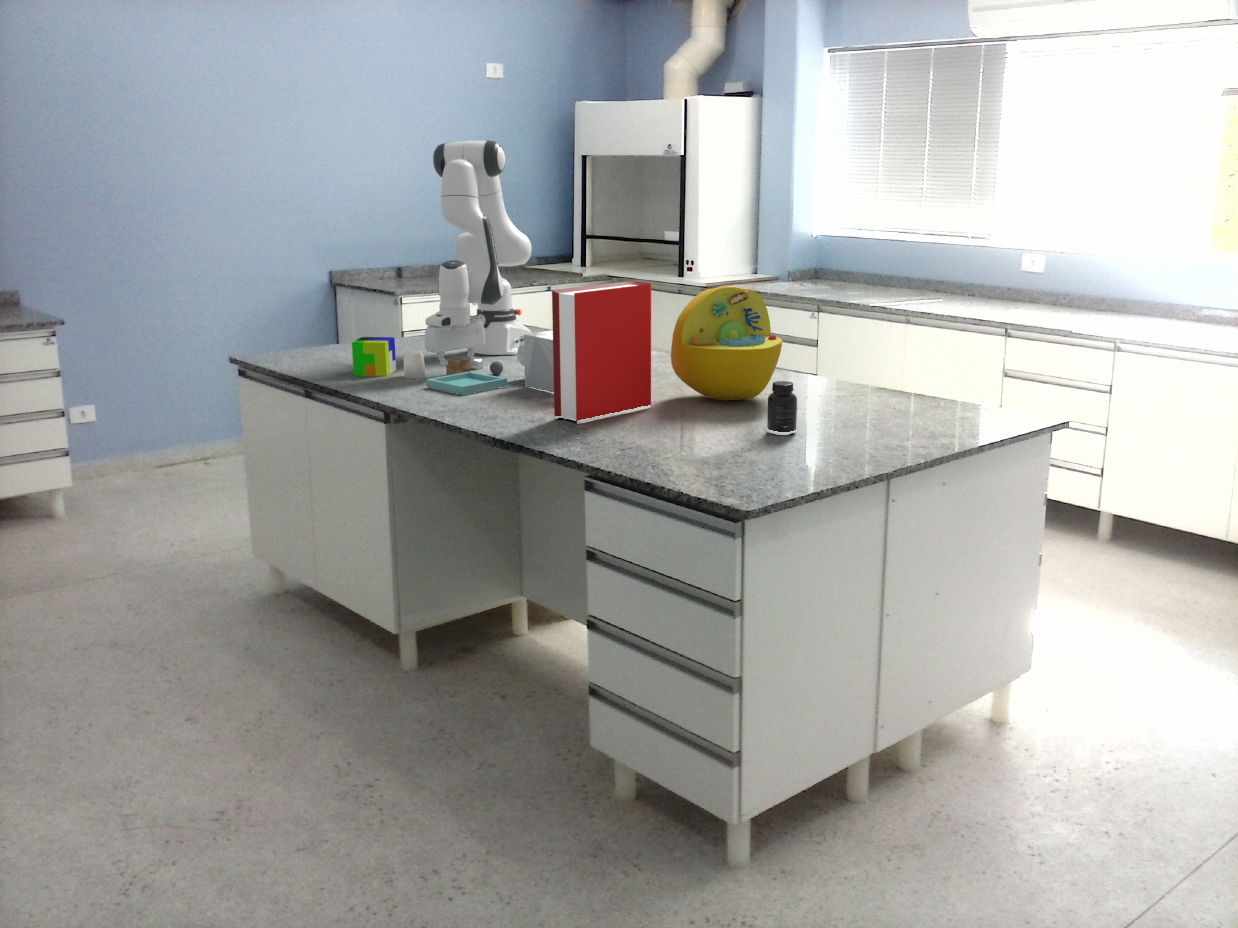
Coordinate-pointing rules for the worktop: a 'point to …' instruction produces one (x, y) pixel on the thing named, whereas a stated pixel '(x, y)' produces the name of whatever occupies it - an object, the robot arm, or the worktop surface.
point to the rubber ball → (496, 368)
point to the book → (601, 349)
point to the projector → (538, 360)
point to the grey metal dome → (476, 363)
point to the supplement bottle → (782, 407)
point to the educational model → (725, 344)
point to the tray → (466, 382)
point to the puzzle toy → (374, 356)
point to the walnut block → (457, 365)
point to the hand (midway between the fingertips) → (456, 364)
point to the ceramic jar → (414, 364)
